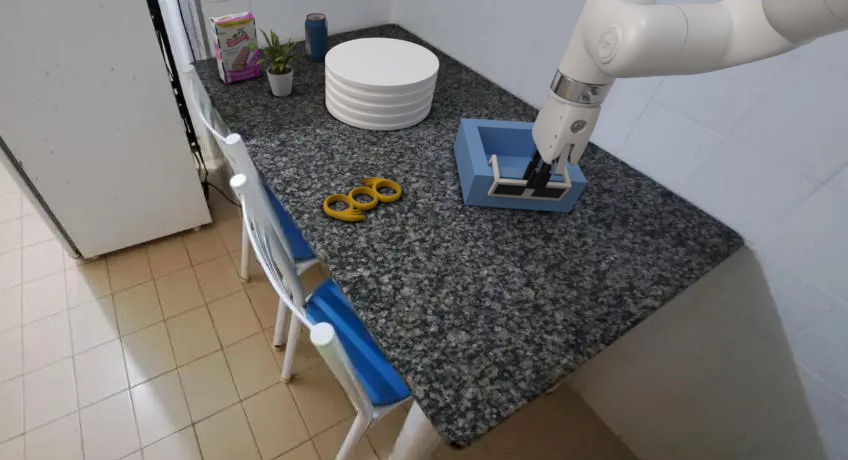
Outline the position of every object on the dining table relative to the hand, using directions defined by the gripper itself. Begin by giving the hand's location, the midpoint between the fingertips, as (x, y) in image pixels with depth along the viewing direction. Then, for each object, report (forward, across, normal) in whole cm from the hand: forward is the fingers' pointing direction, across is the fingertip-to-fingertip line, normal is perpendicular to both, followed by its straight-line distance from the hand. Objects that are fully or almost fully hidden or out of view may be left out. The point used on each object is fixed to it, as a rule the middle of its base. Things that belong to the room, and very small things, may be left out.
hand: (533, 183), depth 70 cm
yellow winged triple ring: (+8, 0, +30) cm, 31 cm away
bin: (+8, +12, 0) cm, 14 cm away
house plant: (+8, +44, +56) cm, 71 cm away
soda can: (+7, +68, +48) cm, 83 cm away
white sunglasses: (+3, +4, 0) cm, 5 cm away
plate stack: (+8, +40, +28) cm, 50 cm away
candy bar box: (+8, +50, +68) cm, 85 cm away
